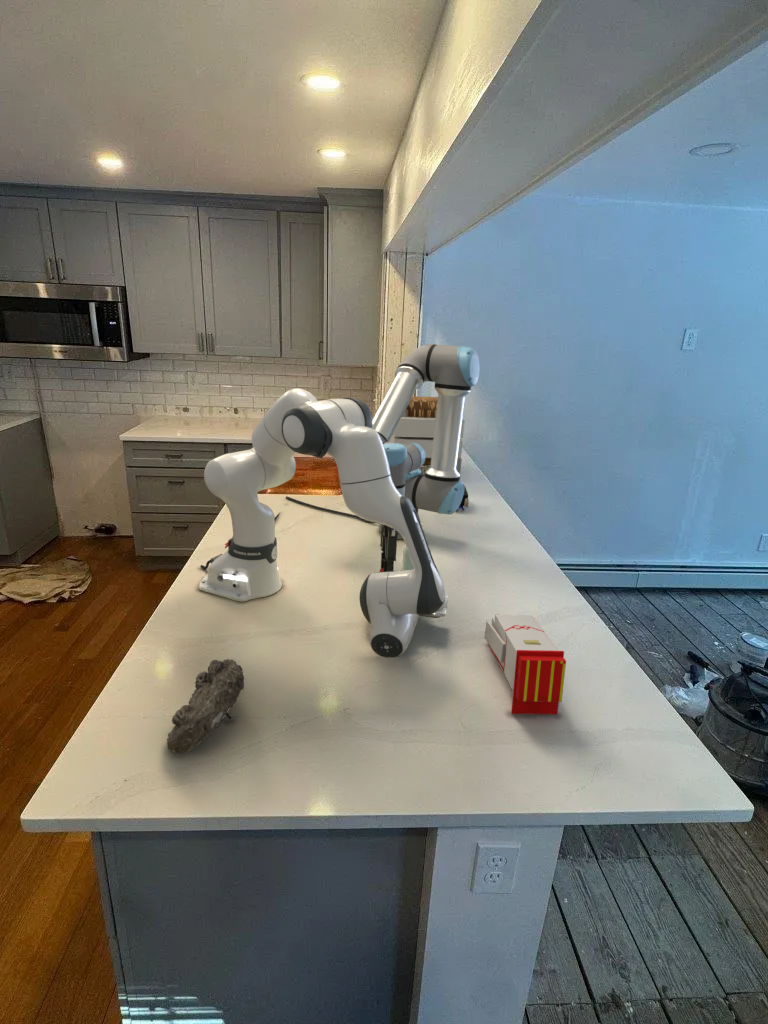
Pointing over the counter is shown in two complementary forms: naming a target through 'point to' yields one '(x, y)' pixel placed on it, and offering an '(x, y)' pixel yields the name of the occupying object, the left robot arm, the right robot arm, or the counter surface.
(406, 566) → the bottle
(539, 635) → the toy
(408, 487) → the right robot arm
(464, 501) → the figurine character
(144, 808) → the counter surface
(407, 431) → the white storage crate
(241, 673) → the fossil
